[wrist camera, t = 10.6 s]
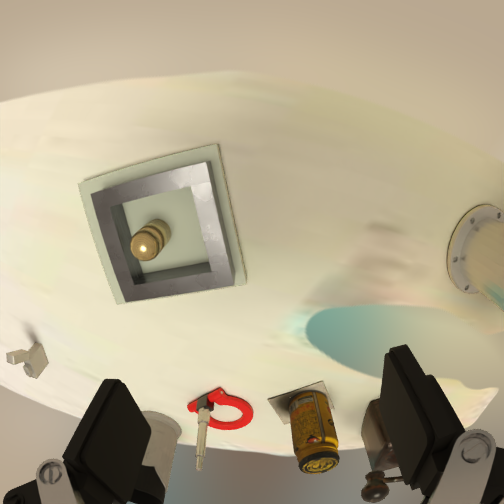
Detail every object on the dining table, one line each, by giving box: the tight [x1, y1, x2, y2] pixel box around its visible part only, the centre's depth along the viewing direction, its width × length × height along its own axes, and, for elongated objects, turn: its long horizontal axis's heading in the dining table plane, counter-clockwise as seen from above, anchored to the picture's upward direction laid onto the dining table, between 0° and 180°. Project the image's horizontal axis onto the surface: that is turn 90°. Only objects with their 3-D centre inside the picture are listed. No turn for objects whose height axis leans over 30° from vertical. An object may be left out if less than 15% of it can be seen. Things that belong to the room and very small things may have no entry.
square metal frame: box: [90, 160, 236, 302], centre depth 30 cm, size 12×12×3 cm
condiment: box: [268, 381, 339, 474], centre depth 36 cm, size 7×8×12 cm
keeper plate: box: [78, 144, 247, 305], centre depth 32 cm, size 16×15×2 cm
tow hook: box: [187, 388, 253, 471], centre depth 37 cm, size 8×13×9 cm
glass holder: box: [130, 411, 182, 504], centre depth 37 cm, size 9×14×15 cm, turn 82°
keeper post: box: [130, 219, 171, 261], centre depth 28 cm, size 3×3×6 cm
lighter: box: [6, 343, 49, 379], centre depth 35 cm, size 7×2×8 cm, turn 175°
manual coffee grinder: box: [361, 399, 403, 503], centre depth 35 cm, size 16×11×18 cm
